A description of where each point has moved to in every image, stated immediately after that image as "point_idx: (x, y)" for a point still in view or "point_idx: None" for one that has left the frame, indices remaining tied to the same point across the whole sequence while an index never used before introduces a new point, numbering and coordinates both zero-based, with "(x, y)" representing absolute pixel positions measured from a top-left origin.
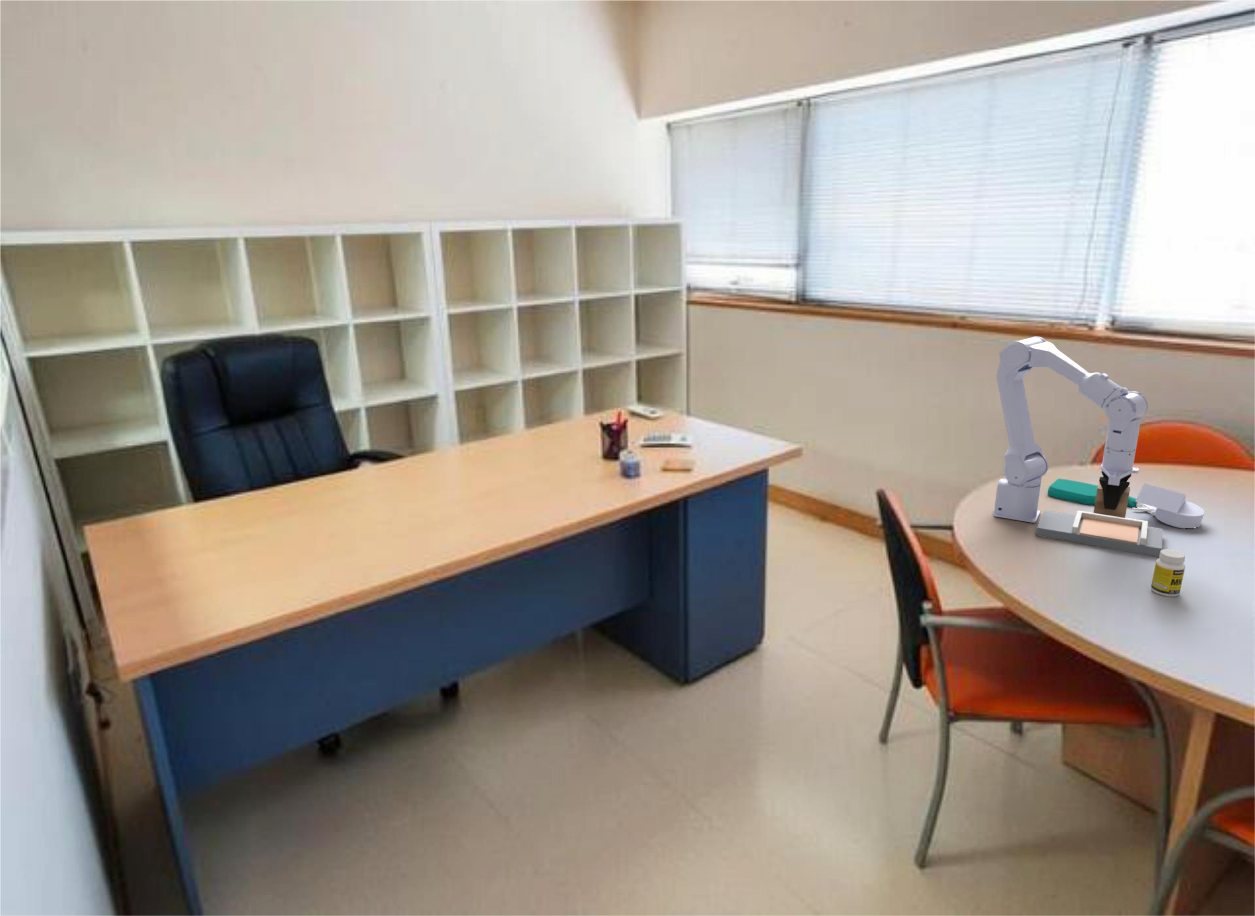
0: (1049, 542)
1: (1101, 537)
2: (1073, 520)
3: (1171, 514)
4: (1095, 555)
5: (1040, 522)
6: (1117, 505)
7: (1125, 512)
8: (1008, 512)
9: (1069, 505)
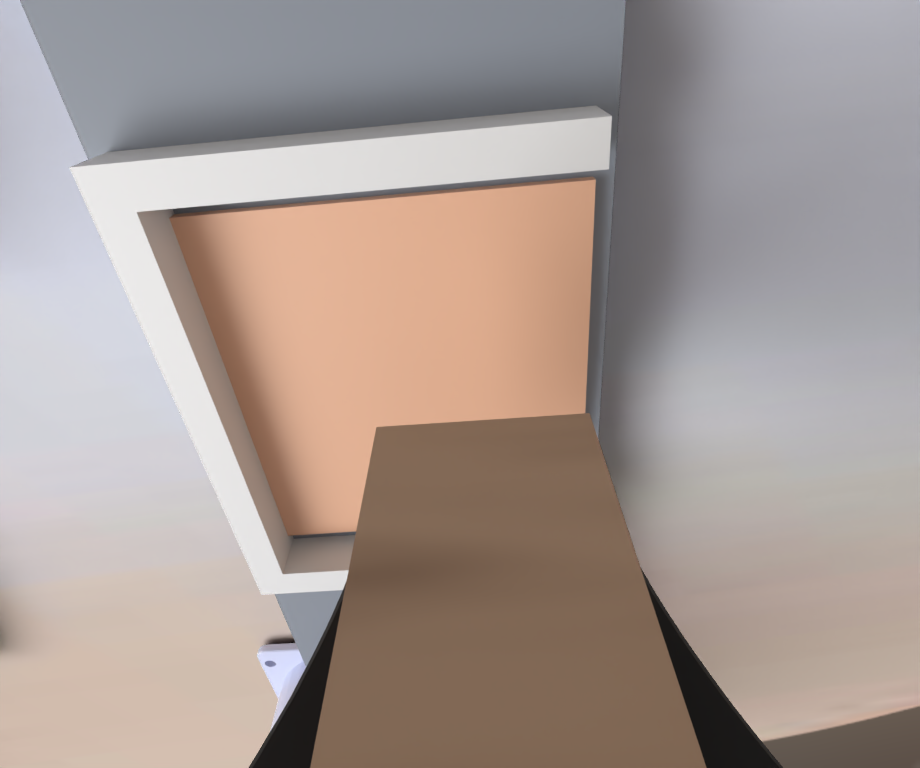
0: (642, 560)
1: (584, 409)
2: None
3: None
4: (750, 370)
5: None
6: (658, 606)
7: (606, 465)
8: None
9: (25, 574)
